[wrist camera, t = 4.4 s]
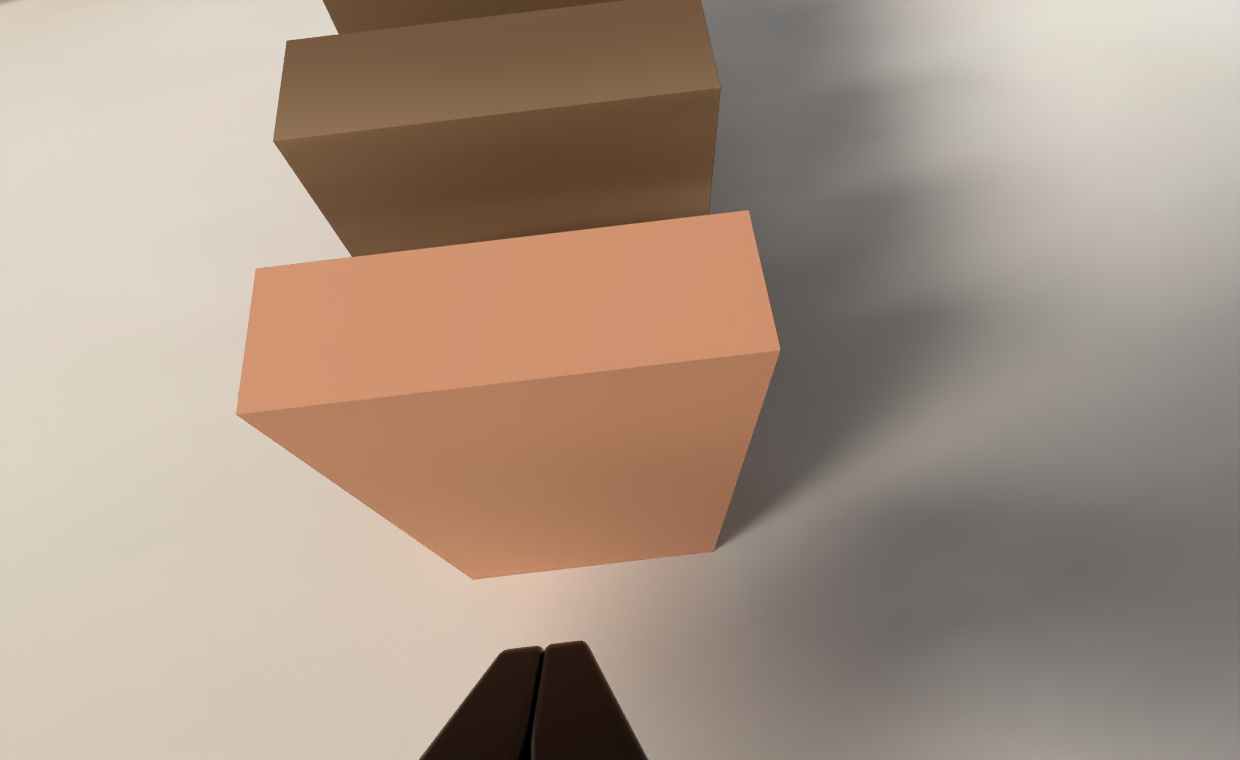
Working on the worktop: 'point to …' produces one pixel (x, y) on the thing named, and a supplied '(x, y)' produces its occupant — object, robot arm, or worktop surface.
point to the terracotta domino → (525, 387)
